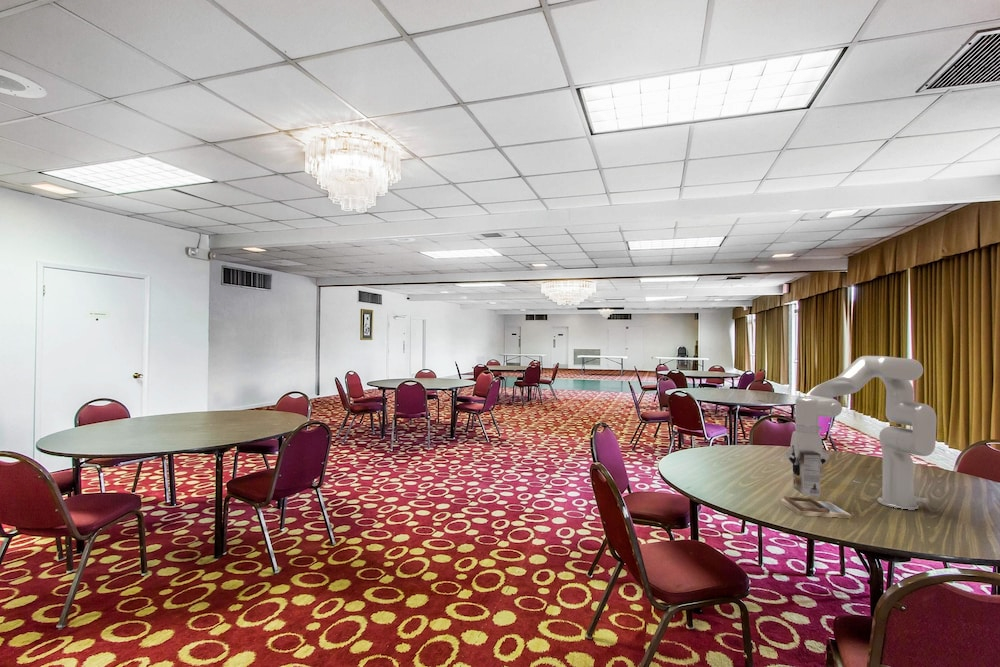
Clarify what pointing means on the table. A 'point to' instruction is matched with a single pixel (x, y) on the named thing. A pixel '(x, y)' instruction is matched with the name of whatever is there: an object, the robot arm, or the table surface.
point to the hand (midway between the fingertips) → (806, 474)
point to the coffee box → (808, 474)
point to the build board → (813, 507)
